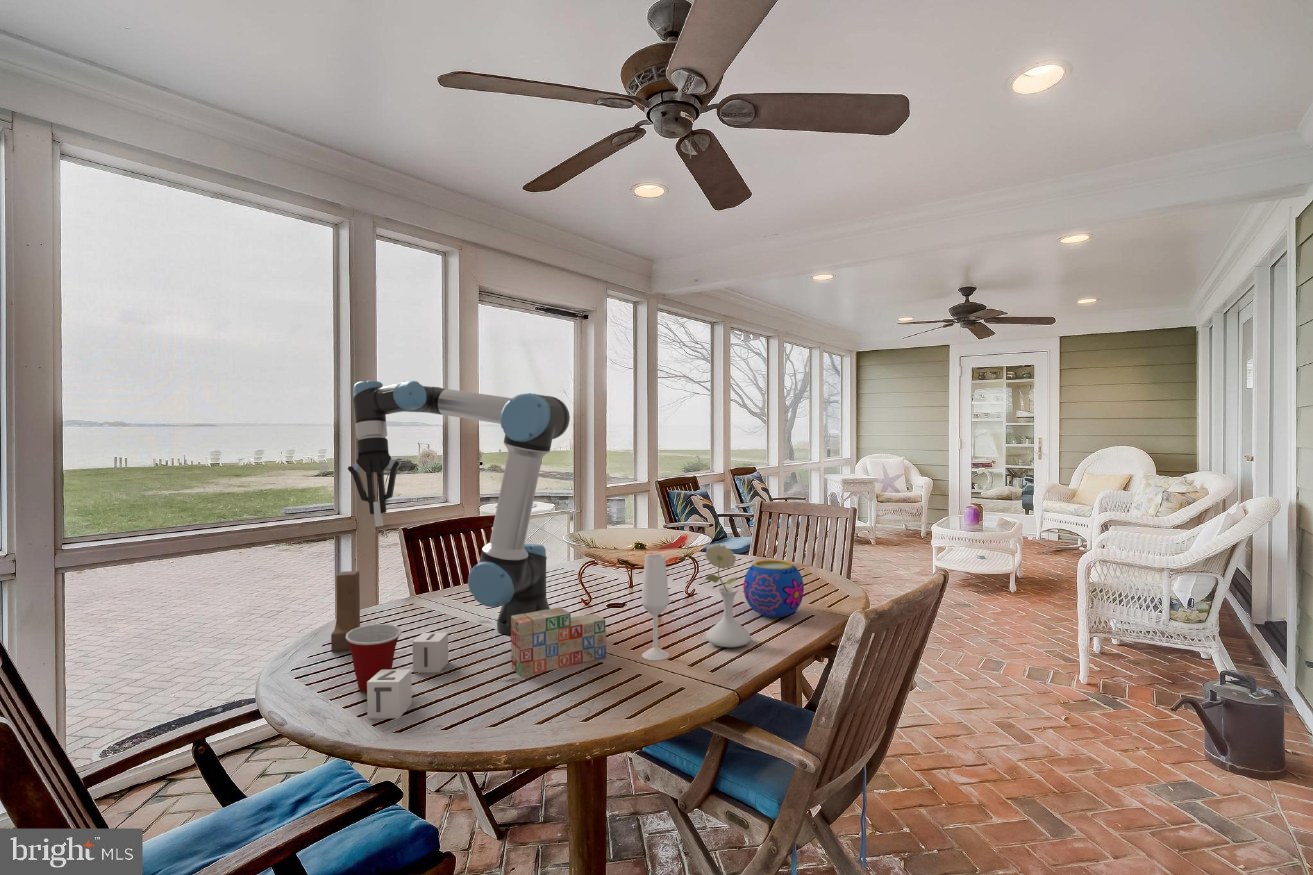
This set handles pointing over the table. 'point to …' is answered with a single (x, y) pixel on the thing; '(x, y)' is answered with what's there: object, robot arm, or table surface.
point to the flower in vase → (725, 602)
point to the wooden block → (346, 609)
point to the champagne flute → (655, 598)
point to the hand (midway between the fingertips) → (379, 526)
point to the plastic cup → (372, 650)
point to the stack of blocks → (555, 640)
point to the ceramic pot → (773, 588)
